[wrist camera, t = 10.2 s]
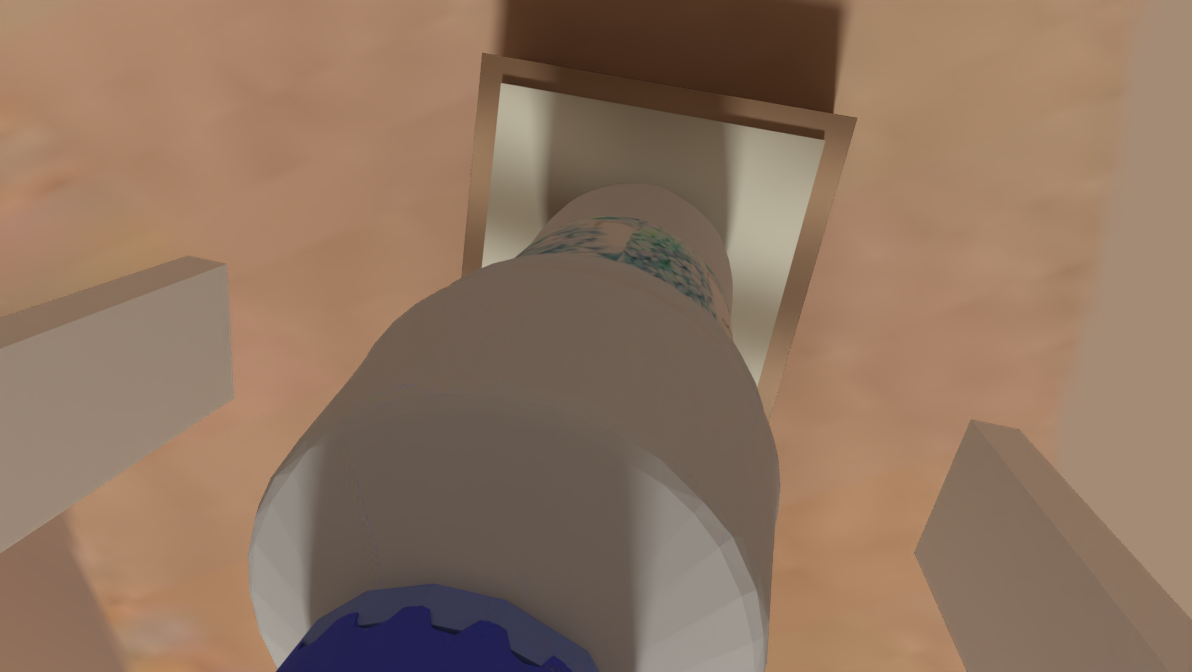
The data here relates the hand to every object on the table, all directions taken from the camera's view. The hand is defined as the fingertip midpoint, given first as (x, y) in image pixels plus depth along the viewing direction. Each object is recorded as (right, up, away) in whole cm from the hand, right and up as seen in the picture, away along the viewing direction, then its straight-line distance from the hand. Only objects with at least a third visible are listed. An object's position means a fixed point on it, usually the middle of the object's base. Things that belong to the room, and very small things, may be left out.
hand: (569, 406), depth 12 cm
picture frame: (+2, +5, +15) cm, 16 cm away
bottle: (+2, +4, +11) cm, 12 cm away
